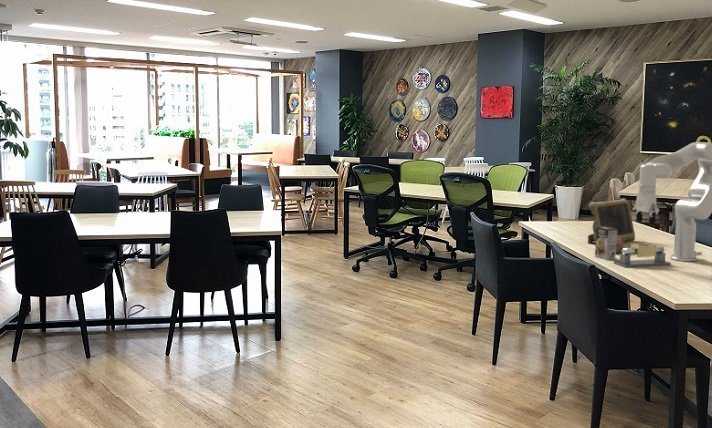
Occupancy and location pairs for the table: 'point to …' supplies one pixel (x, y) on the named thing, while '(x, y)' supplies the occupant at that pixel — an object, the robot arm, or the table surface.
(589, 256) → the table surface
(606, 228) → the coffee box
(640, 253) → the coupler
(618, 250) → the decorative rock
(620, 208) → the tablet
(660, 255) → the shaft rig
